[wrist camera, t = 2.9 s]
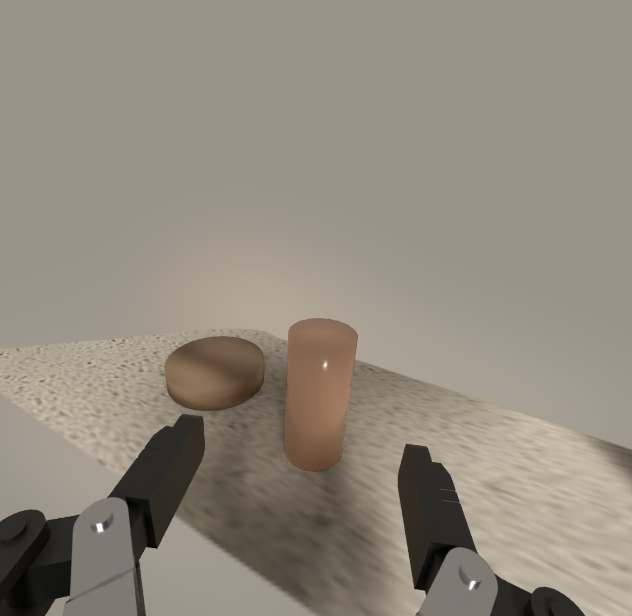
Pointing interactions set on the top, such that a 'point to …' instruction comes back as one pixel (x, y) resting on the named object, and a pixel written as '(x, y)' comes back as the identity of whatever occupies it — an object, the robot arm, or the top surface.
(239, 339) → the brown disc
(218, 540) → the top surface
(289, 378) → the tan rounded post
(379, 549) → the top surface
